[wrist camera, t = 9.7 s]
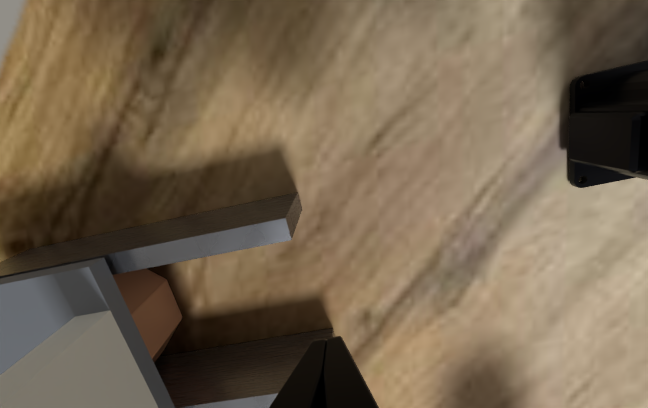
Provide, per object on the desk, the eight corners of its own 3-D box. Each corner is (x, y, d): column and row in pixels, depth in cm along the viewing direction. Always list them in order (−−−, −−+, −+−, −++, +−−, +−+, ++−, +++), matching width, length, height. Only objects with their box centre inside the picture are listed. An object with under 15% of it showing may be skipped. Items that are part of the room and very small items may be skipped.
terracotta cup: (155, 250, 21) (103, 290, 17) (193, 342, 24) (157, 400, 19) (54, 270, 22) (-23, 314, 17) (100, 357, 24) (43, 417, 20)
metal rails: (297, 192, 20) (285, 218, 15) (336, 341, 23) (336, 400, 18) (29, 249, 22) (-57, 287, 17) (100, 378, 25) (44, 441, 20)
